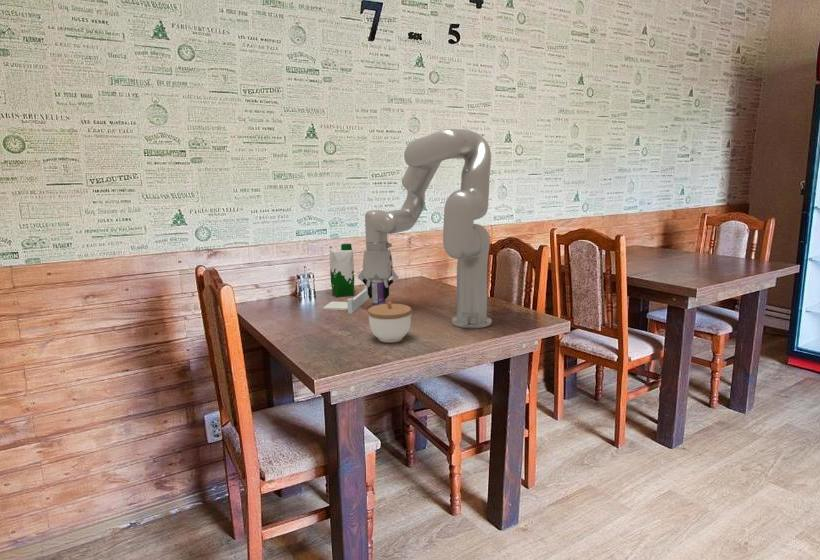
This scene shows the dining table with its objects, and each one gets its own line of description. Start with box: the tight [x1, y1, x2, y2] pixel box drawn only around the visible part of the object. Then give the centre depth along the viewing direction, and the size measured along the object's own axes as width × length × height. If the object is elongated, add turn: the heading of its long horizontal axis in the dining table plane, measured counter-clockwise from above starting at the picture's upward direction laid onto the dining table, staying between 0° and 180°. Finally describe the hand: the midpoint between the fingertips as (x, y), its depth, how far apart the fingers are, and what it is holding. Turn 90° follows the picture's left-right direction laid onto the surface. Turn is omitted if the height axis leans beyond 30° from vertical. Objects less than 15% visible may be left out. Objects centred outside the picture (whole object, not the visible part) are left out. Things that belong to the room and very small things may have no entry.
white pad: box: [322, 301, 348, 311], centre depth 200 cm, size 9×9×1 cm
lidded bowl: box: [367, 301, 412, 344], centre depth 161 cm, size 13×13×11 cm
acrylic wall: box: [346, 285, 370, 315], centre depth 200 cm, size 22×2×5 cm, turn 168°
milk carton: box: [329, 243, 355, 298], centre depth 217 cm, size 9×9×20 cm
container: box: [371, 274, 386, 307], centre depth 194 cm, size 5×5×15 cm
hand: (378, 297), depth 194 cm, fingers closed on container, 4 cm apart
